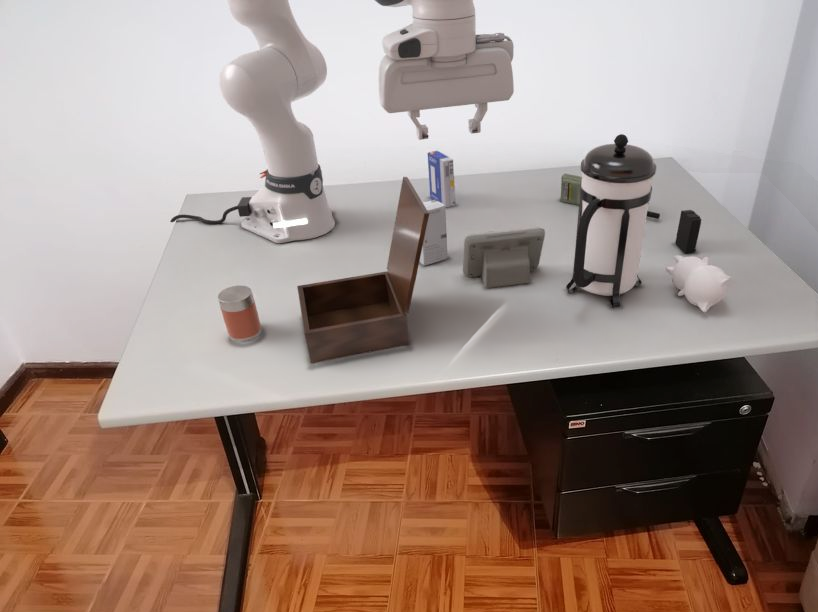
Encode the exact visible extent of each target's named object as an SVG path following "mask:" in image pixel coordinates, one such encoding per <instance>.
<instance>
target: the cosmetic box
mask: <svg viewBox="0 0 818 612" xmlns="http://www.w3.org/2000/svg"><path fill="white" fill-rule="evenodd" d="M422 202H423V204H424V206H425V208H426V209H427V211H428V213H429V218H428V222H427V227H426V232H425V237H424V242H423V246H422V251H421V256H420V261H419V264H421V265H422V266H429V265H432V264H436V263H438V262H442V261H445V260H447V259H448V258H449V257H448V255H449V254H448V231H447V207H446V206H445V205H444V204H442V203H440V202H439V201H437V200H433V199H432V200H428V201H422Z"/></svg>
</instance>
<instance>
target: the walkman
mask: <svg viewBox="0 0 818 612" xmlns="http://www.w3.org/2000/svg"><path fill="white" fill-rule="evenodd" d="M427 166H428V167H427V169H428V182H429V197H430V199H432V200H437V201H439V202H440V203H442V204H444V205H445V206H446V208H450V207H455V206H456V192H455V191H456V190H455V189H456V187H455V173H454V171H455V170H454V159H453V158H452V157H450V156H448V155H446V154H445V153H443V152H441V151H439V150H434V151H433V150H432V151H429V152H427Z"/></svg>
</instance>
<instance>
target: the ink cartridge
mask: <svg viewBox="0 0 818 612" xmlns="http://www.w3.org/2000/svg"><path fill="white" fill-rule="evenodd" d="M701 225H702V218H701V216H700V215H699V214H697V213H696V212H695V211H694V210H692V209H686V210H684V209H683V210H680V216H679V221H678V226H677V232H676V237H675V245H676V247H677V248H678V249H680V251H681V252H683V253H684V254H692V253H695V252H696V250H697V249H696V248H697V243H698V239H699V234H700V230H701Z"/></svg>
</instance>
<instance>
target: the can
mask: <svg viewBox="0 0 818 612" xmlns="http://www.w3.org/2000/svg"><path fill="white" fill-rule="evenodd" d="M217 300H218V303H219V308H220V311H221V314H222V317H223V321H224V324H225V328H226V330H227V334H228V337H229V338H230V340H232V341H234V342H238V343H245V342H249V341H252V340H254V339H256V338H258V337H259V336H260V335H261V334H262V330H263V329H262V324H261V321H260V317H259V314H258V313H259V312H258V310H257V309H258V308H257V306H256V305H257V304H256V301H255V298H254V295H253V291H252V289H251V288H250V287H249V286H247V285H231V286H228V287H226V288H223V289H222V290H221V291H219V293H218V294H217Z"/></svg>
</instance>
